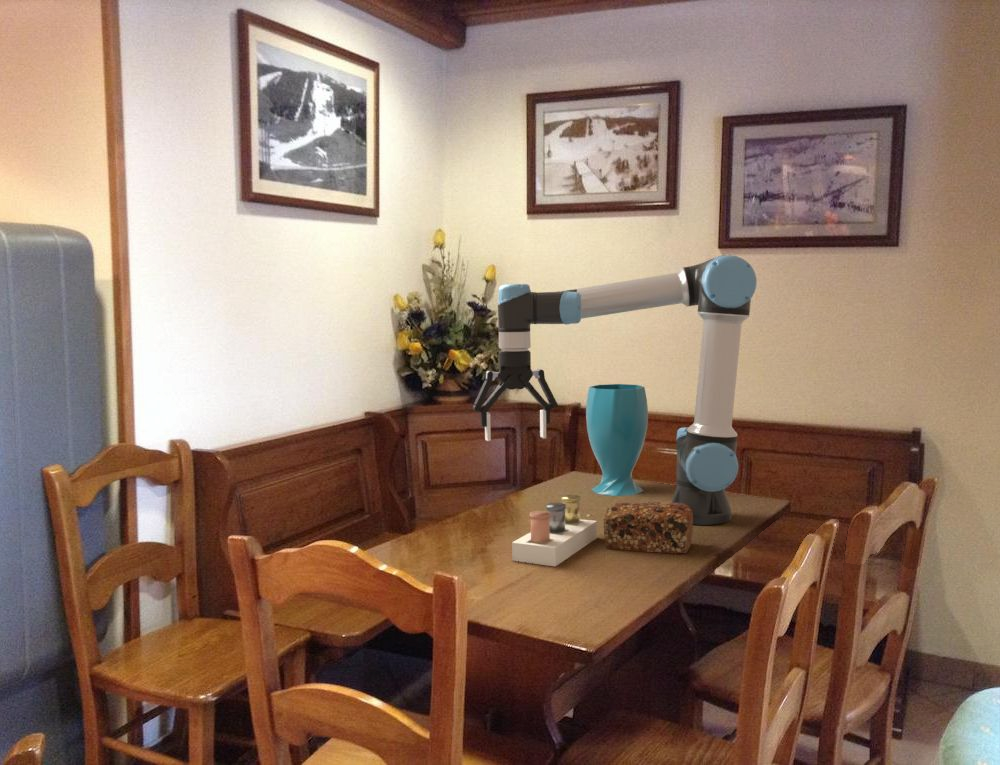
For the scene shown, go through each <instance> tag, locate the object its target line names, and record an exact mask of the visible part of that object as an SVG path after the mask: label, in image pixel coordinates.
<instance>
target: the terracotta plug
mask: <svg viewBox="0 0 1000 765" xmlns="http://www.w3.org/2000/svg"><path fill="white" fill-rule="evenodd" d="M529 518H530V532H531V541H532V542H537V543H543V542H548V541H549V540H550V530H549V518H550V513H549V512H547V510H546V511H545V510H534V511H530V512H529Z"/></svg>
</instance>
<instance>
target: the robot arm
mask: <svg viewBox="0 0 1000 765" xmlns="http://www.w3.org/2000/svg"><path fill="white" fill-rule="evenodd" d="M757 283H758V282H757V275H756V272H755V270H754V267H753V266H752V265H751V264H750V263H749V262H748V261H747V260H746V259H744V258H742V257H739V256H737V255H734V254H733V255H732V254H722V255H719V256H717V257H714V258H710V259H708V260H706V261H704V262H700V263H697V264H694V265H690V266H684V267H681V268H680V269H679V270H678V271H677V272H674V273H667V274H660V275H656V276H655V275H653V276H647V277H643V278H635V279H630V280H624V281H623V280H622V281H616V282H612V283H611V282H610V283H604V284H598V285H593V286H592V285H591V286H587V287H586V286H585V287H581V288H575V289H567V290H561V291H548V292H547V291H546V292H545V291H544V292H537V291H532V290H531V288H530V287H531V286H530V284H528V283H510V284H509V283H506V284H502V285H500V286H499V287H498V291H497V293H498V294H497V295H498V297H497V317H498V318H497V321H498V322H497V323H498V348H499V349H501V350H499V352H498V371H490V370H486V372H485V377H484V381H483V384H482V385H481V387H480V389H479V393H478V395H477V397H476V398H475V401H474V403H473V405H472V410H473V411H474V412H475V411H476V412H479V413H480V426H481V427H482V428H484V439H485V441H487V442H491V440H492V436H491V434H492V433H491V427H492V426H491V413H490V412H488V411H489V410H491V408H492V407H493V405H494V404H495V403H496V401H497V400H498V399H499V398H500V397H501V395H502V394H503V393H504V392H505V391H506V390H523V389H524V388H525V389H526V390H527V391H528V393H529V394H530V395H531V396H532V397H533V398H534V399H535V401H536V402H537V403H538V404H539V405H540V406H541V408H542V409H540V410H539V436H540V438H542V439H547V425H548V424H550V423H551V411H552V409H555V408H557V407H558V402H557V400H556V398H555V396H554V395H553V392H552V390H551V389H550V386H549V384H548V382H547V381H546V380H547V379H546V377H545V370H543V369H541V368H537V369H536V370H532V368H531V367H532V363H531V362H532V360H531V351H530V350H529V349H530V348H531V325H571V324H572V325H573V324H579V323H580V322H581V320H582V319H587V318H594V317H600V316H608V315H614V314H620V313H628V312H635V311H641V310H646V309H654V308H659V307H666V306H672V305H674V306H675V305H678V304H679V305H681V304H683V305H684V306H685V307H693V306H694V307H695V306H697V315H699V317H700V318H701V319H702V321H703V323H702V331H701V342H700V344H701V345H700V353H699V354H700V355H699V362H698V363H699V364H698V365H699V366H698V376H697V385H696V386H697V387H696V388H697V389H696V397H695V407H694V408H695V409H694V410H695V411H694V419H693V423H692V424H691V425H689V427H680V428H678V430H677V432H676V438H675V441H676V488H675V491H674V495H673V497H672V501H671V502H673V503H684V504H686V505H689V506H690V507H691V508H692V513H693V525H696V526H697V525H698V526H699V525H700V526H701V525H702V526H703V525H704V526H709V525H710V526H712V525H719V524H720V525H721V524H725V523H728V522H731V520H732V508H731V505H730V504H731V503H730V502H729V499H728V495H727V493H726V490H725V489H726V488H728V487H730V486H731V485H732V484H733V482H734V481H735V479H736V478H737V476H738V473H739V460H738V456H737V446H738V436H739V435H738V432H737V431H736V430H735V429H734V428H733V415H734V407H735V405H734V404H735V394H736V386H737V385H736V384H737V376H738V363H739V354H740V353H739V352H740V343H741V333H742V324H743V322H745V321H746V320H748V319H749V317H750V312H751V311H750V310H751V301H752V298H753V296H754V294H755V292H756V289H757ZM533 376H534V379H536V380H537V382H538V384H539V386H540V388H541V390H542V392H543V394H544V396H545V397H546V399H547V401H548V402H547V401H546V400H545V399H544V398H543V397H542V395H541V394H540V393H539V391H538V390H536V388H535V387H534V385H533V384H532V383H531V379H532V378H533ZM496 378H498V380H499V381H500V382H499V384H497V386H496V388H495V389H494V391H493V392H492V393H491V395H490V396H489V397H488V398H487V400H485V398H486V396H487V394H488V392H489V390H490V388H491V385H492V383H493V381H495V380H496ZM484 401H485V402H484Z"/></svg>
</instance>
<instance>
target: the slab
mask: <svg viewBox="0 0 1000 765" xmlns="http://www.w3.org/2000/svg"><path fill="white" fill-rule="evenodd" d="M597 538H598V521H597V520H591V519H581V518H580V522H579V523H575V524H567V523H565V531H564V532H561V533H552V532H550V540H549V541H548V542H543V543H537V542H532V541H531V531H530V532H528V533H526V534H524V535H523V536H521V537H519V538H517V539H516V540H514V541H512V542H511V546H512V548H511V550H512V551H511V552H512V553H511V554H512V557H511V558H512V559H511V560H512V562H518V561H519V562H520V563H525V562H526V563H528V564H532V563H533V564H534V565H539V566H541V565H542V566H548V567H549V566H550V567H557V566H559V565H560V564H562V563H563V562H565V560H567V559H568V558H570V557H571V556H573V555H575V554H576V553H577V552H579V551H580V550H582V549H583V548H585V547H586V546H587V545H589V544H590V543H592V542H593V541H595V540H597ZM519 562H518V563H519ZM526 563H525V564H526Z"/></svg>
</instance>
